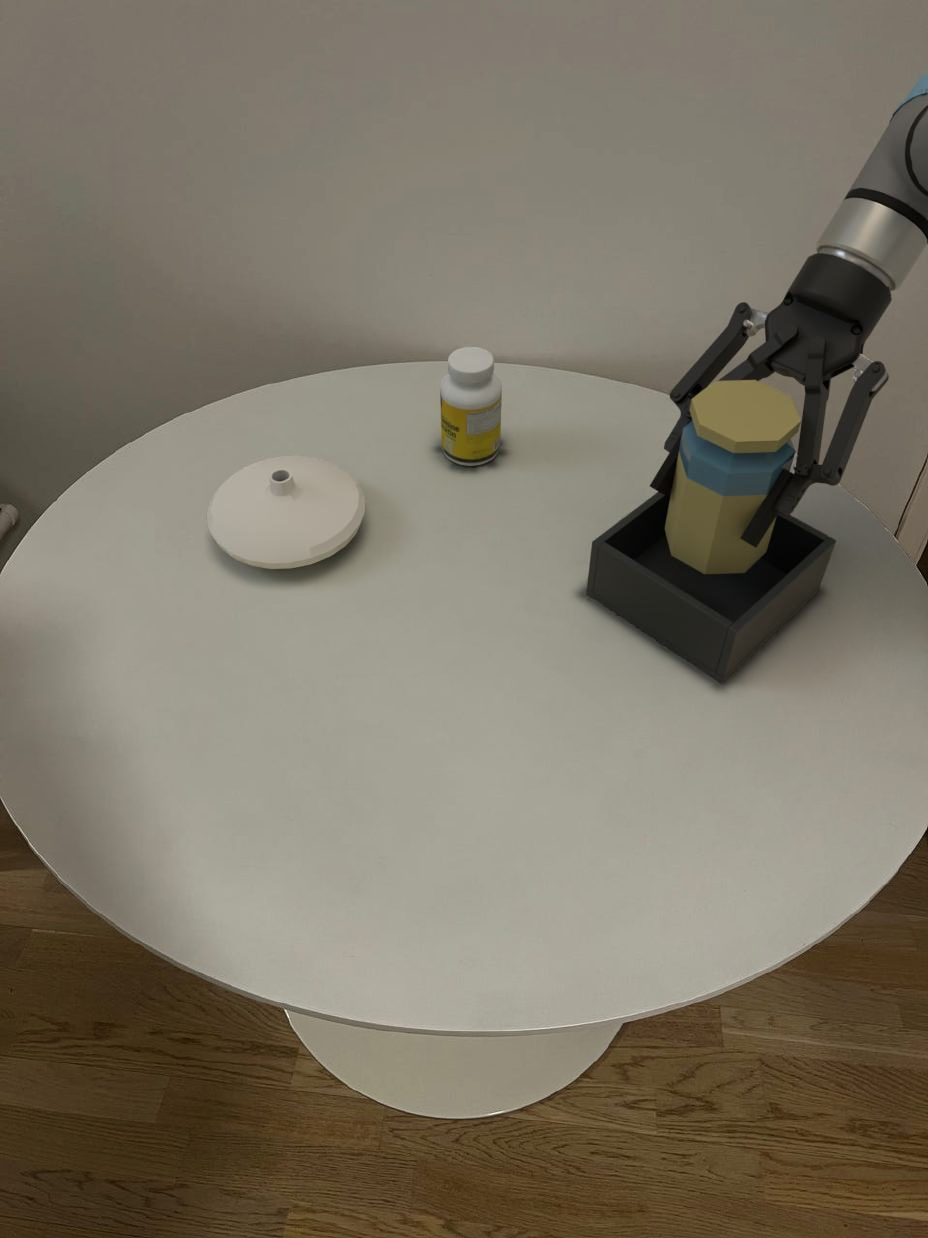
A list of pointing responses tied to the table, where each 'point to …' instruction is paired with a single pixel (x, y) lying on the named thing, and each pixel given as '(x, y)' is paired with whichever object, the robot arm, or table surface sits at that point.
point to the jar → (728, 473)
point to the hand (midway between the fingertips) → (702, 516)
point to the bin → (705, 587)
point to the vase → (286, 512)
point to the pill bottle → (470, 407)
